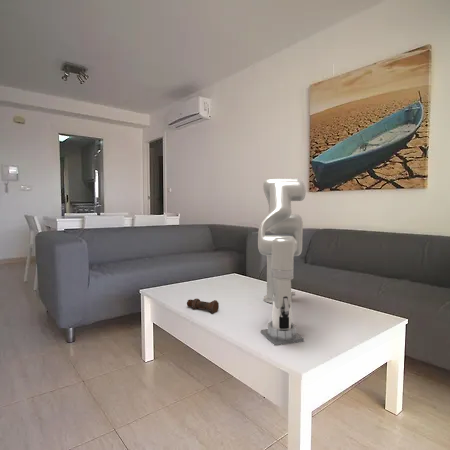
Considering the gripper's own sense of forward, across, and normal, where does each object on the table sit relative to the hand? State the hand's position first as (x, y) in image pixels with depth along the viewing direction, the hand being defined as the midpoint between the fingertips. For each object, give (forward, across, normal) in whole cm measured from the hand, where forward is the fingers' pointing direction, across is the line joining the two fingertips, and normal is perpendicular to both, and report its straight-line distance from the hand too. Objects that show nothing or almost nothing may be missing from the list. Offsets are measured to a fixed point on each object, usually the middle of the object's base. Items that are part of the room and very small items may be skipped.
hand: (281, 323), depth 106 cm
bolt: (+5, -30, -29) cm, 42 cm away
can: (+3, 0, 0) cm, 3 cm away
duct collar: (+5, 0, 0) cm, 5 cm away
